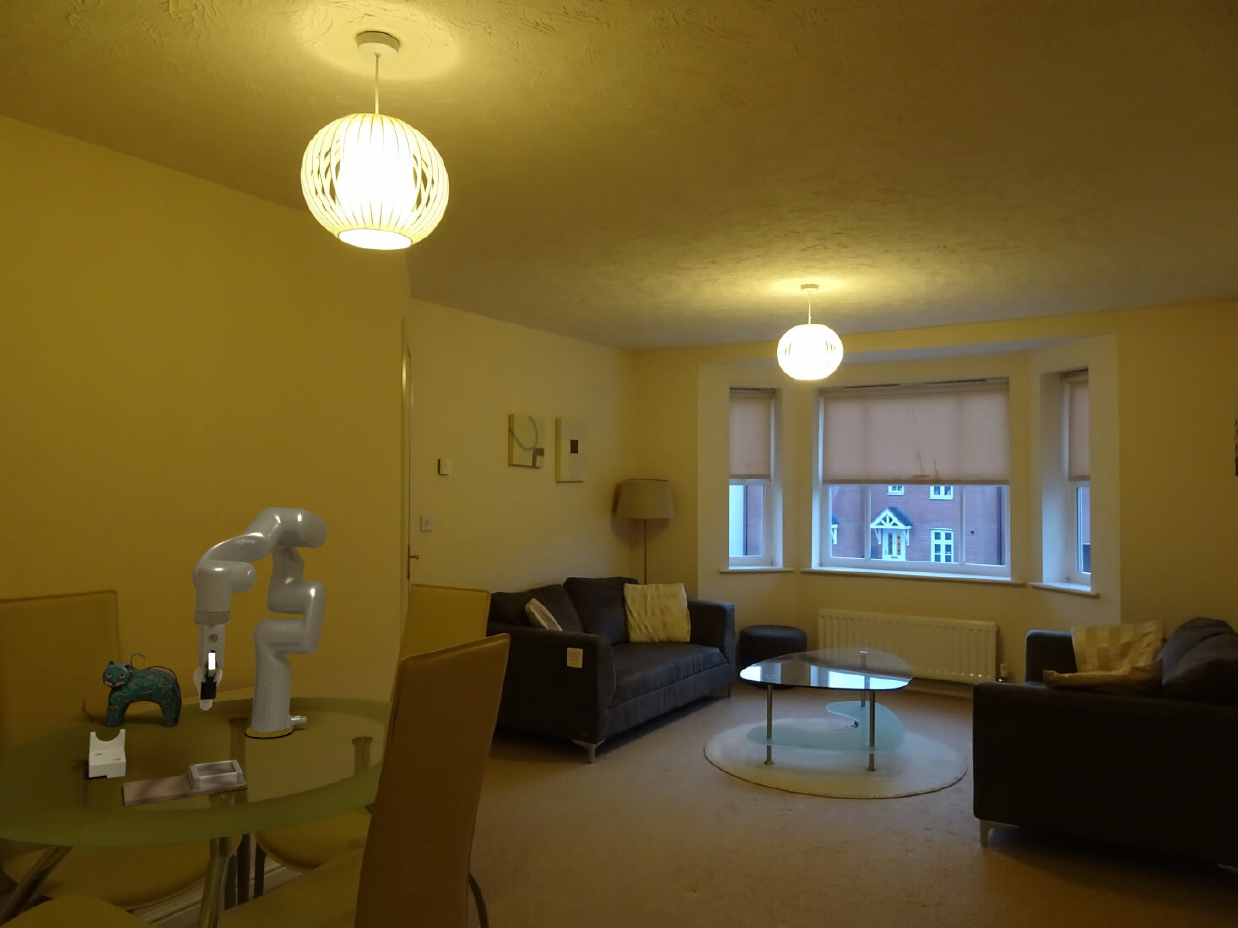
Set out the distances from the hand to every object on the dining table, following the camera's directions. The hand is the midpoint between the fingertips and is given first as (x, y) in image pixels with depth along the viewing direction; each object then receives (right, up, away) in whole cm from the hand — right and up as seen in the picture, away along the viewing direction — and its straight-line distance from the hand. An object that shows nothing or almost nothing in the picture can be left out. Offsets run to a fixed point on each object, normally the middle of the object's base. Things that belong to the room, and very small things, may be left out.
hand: (206, 695), depth 194 cm
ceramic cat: (-37, -19, +38) cm, 56 cm away
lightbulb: (0, -4, 0) cm, 4 cm away
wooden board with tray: (-2, -19, -6) cm, 20 cm away
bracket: (-25, -19, +3) cm, 32 cm away
